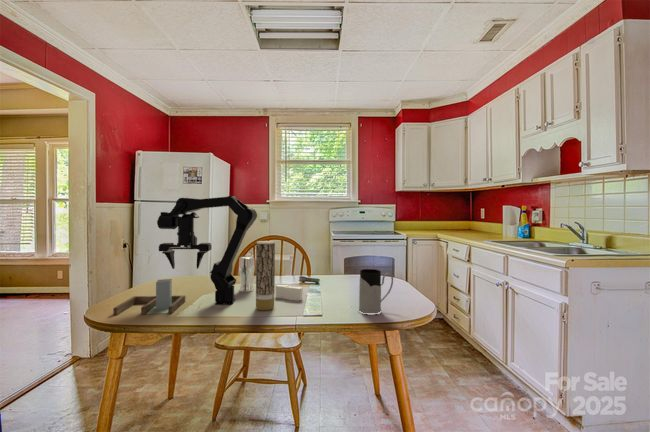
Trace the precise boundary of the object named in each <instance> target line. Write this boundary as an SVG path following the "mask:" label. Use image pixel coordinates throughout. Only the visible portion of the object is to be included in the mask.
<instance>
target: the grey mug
mask: <svg viewBox="0 0 650 432" xmlns="http://www.w3.org/2000/svg"><path fill="white" fill-rule="evenodd" d="M359 274H360V275H359V276H360V277H359V289H358V290H359V296H358V297H359V299H358V301H359V302H358V304H359V305H358V309H359V311H361V312H363V313H378V312H380V311H382V306H381V305H382V302H383V301H384V300H385V299H386V298H387V297H388V295H389V294H390V293H391V290H392V289H393V284H394V276H393V274H391V272H390V273H389V272H386V273H384V275H383V276H382V275H381V274H382V271H381V270H379V269H373V268H372V269H371V268H365V269H360V271H359ZM387 275H390V277H391V282H390V287H389V289H388V291H387V292H386V294H385V295H384V296H383V297H382V286H383V285H384V283H385V277H386V276H387Z"/></svg>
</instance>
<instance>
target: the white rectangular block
mask: <svg viewBox="0 0 650 432" xmlns="http://www.w3.org/2000/svg"><path fill="white" fill-rule="evenodd" d="M275 298H277V299H284V300H291V301H299V300H301V301H302V300H303V287H302V286H300V287H299V286H290V285H286V284H285V285H284V284H277V285H276V286H275Z"/></svg>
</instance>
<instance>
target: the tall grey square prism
mask: <svg viewBox="0 0 650 432" xmlns="http://www.w3.org/2000/svg"><path fill="white" fill-rule="evenodd" d="M172 279H173V278H169V279H168V278H167V279H157V281H156V282H155V286H156V287H155V296H156V310H161V309H168V307H169V306H170V305H171V304H172V296H173V295H172V292H173V291H172V288H173V287H172V286H173V285H172V284H173V283H172V281H173V280H172Z"/></svg>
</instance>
